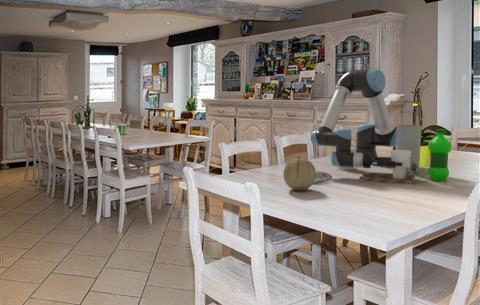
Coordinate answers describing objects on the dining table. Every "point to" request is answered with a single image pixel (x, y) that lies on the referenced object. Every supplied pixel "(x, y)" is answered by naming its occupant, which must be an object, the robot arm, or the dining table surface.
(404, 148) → the cylinder vase
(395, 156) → the foam cup
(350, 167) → the can
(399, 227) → the dining table surface
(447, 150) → the plastic bottle
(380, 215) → the dining table surface
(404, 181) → the wooden tray
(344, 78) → the robot arm
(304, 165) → the cantaloupe
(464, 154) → the dining table surface
